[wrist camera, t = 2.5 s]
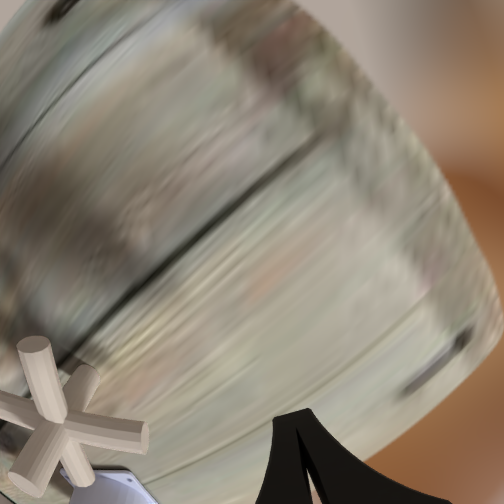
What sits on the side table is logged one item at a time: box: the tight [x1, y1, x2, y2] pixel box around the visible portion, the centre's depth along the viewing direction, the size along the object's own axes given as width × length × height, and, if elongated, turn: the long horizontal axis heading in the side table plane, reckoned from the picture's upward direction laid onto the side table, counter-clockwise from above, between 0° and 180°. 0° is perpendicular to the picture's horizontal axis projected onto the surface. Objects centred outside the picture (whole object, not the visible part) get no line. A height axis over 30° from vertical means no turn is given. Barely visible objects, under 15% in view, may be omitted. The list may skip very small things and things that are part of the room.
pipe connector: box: [0, 336, 149, 498], centre depth 12 cm, size 10×10×10 cm
